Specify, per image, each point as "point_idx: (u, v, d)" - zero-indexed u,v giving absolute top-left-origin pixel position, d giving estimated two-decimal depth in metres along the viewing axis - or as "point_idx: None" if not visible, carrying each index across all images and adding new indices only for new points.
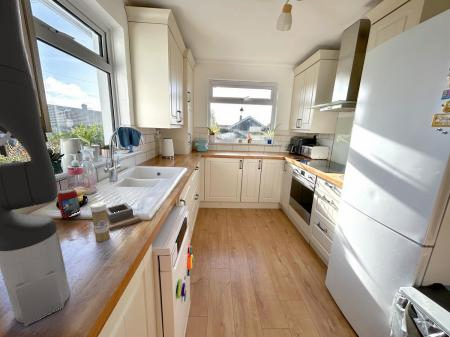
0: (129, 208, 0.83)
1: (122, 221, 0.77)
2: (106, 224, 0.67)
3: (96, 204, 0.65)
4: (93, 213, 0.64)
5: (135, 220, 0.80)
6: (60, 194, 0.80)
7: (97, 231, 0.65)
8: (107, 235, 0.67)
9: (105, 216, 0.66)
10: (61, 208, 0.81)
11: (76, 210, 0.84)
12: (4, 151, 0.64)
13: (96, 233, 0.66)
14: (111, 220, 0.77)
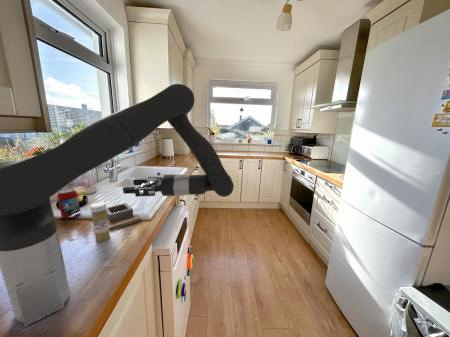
0: (129, 208, 0.83)
1: (122, 221, 0.77)
2: (106, 224, 0.67)
3: (96, 204, 0.65)
4: (93, 213, 0.64)
5: (135, 220, 0.80)
6: (60, 194, 0.80)
7: (97, 231, 0.65)
8: (107, 235, 0.67)
9: (105, 216, 0.66)
10: (61, 208, 0.81)
11: (76, 210, 0.84)
12: (138, 179, 0.69)
13: (96, 233, 0.66)
14: (111, 220, 0.77)
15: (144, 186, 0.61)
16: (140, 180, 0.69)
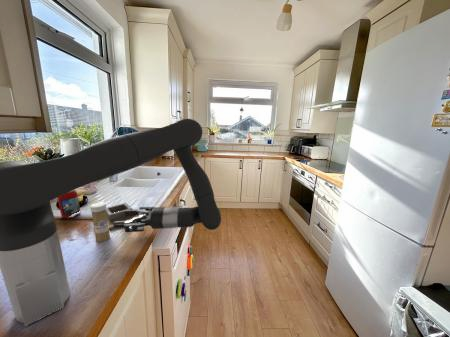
0: (129, 208, 0.83)
1: None
2: (106, 224, 0.67)
3: (96, 204, 0.65)
4: (93, 213, 0.64)
5: None
6: None
7: (97, 231, 0.65)
8: (107, 235, 0.67)
9: (105, 216, 0.66)
10: (61, 208, 0.81)
11: (76, 210, 0.84)
12: (130, 210, 0.71)
13: (96, 233, 0.66)
14: (111, 220, 0.77)
15: (134, 221, 0.64)
16: (131, 211, 0.71)
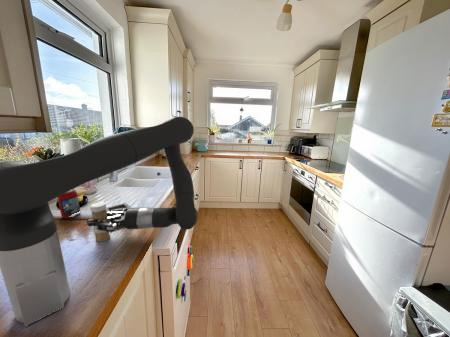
0: None
1: None
2: None
3: (96, 204, 0.65)
4: (93, 213, 0.64)
5: None
6: None
7: (97, 231, 0.65)
8: (107, 235, 0.67)
9: (105, 216, 0.66)
10: (61, 208, 0.81)
11: (76, 210, 0.84)
12: None
13: (96, 233, 0.66)
14: None
15: (107, 220, 0.64)
16: None
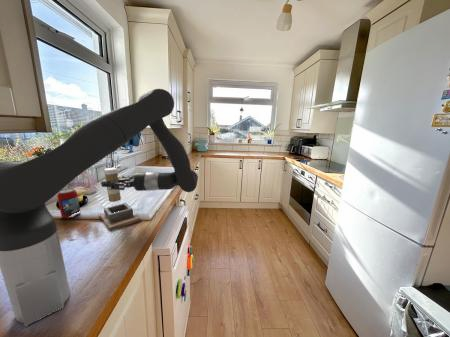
0: (129, 208, 0.83)
1: (122, 221, 0.77)
2: None
3: (108, 169, 0.75)
4: (106, 175, 0.73)
5: (135, 220, 0.80)
6: (60, 194, 0.80)
7: (110, 192, 0.75)
8: (118, 196, 0.77)
9: (117, 179, 0.76)
10: (61, 208, 0.81)
11: (76, 210, 0.84)
12: None
13: (109, 194, 0.75)
14: (111, 220, 0.77)
15: (118, 181, 0.73)
16: None
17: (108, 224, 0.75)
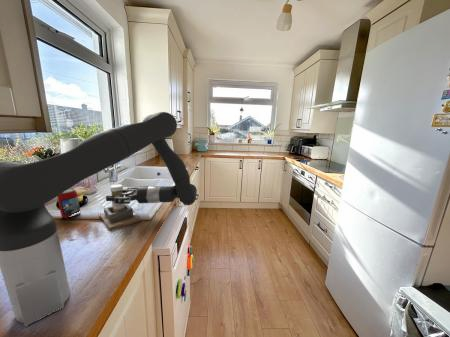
0: (129, 208, 0.83)
1: (122, 221, 0.77)
2: None
3: (114, 186, 0.80)
4: (112, 192, 0.79)
5: (135, 220, 0.80)
6: (60, 194, 0.80)
7: (115, 207, 0.80)
8: None
9: None
10: (61, 208, 0.81)
11: (76, 210, 0.84)
12: None
13: (114, 209, 0.81)
14: (111, 220, 0.77)
15: (122, 195, 0.78)
16: None
17: (108, 224, 0.75)
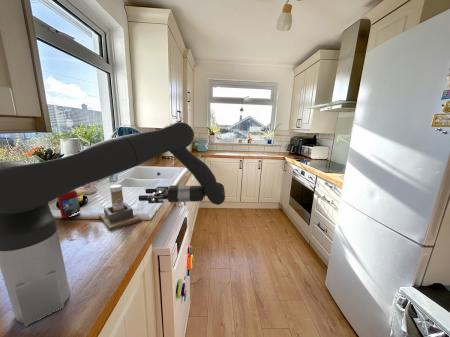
0: (129, 208, 0.83)
1: (122, 221, 0.77)
2: (122, 202, 0.82)
3: (114, 186, 0.80)
4: (112, 192, 0.79)
5: (135, 220, 0.80)
6: None
7: (115, 207, 0.80)
8: None
9: (121, 195, 0.81)
10: (61, 208, 0.81)
11: (76, 210, 0.84)
12: None
13: (114, 209, 0.81)
14: (111, 220, 0.77)
15: (155, 195, 0.79)
16: (151, 189, 0.86)
17: (108, 224, 0.75)
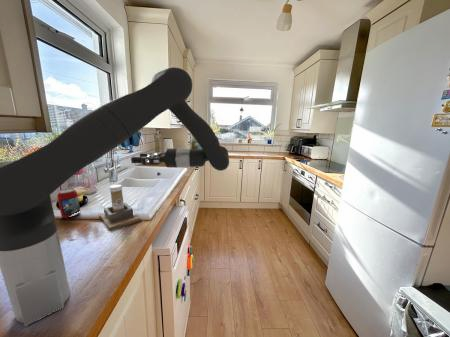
0: (129, 208, 0.83)
1: (122, 221, 0.77)
2: (122, 202, 0.82)
3: (114, 186, 0.80)
4: (112, 192, 0.79)
5: (135, 220, 0.80)
6: (60, 194, 0.80)
7: (115, 207, 0.80)
8: None
9: (121, 195, 0.81)
10: (61, 208, 0.81)
11: (76, 210, 0.84)
12: (144, 153, 0.77)
13: (114, 209, 0.81)
14: (111, 220, 0.77)
15: (150, 157, 0.69)
16: (146, 154, 0.77)
17: (108, 224, 0.75)
